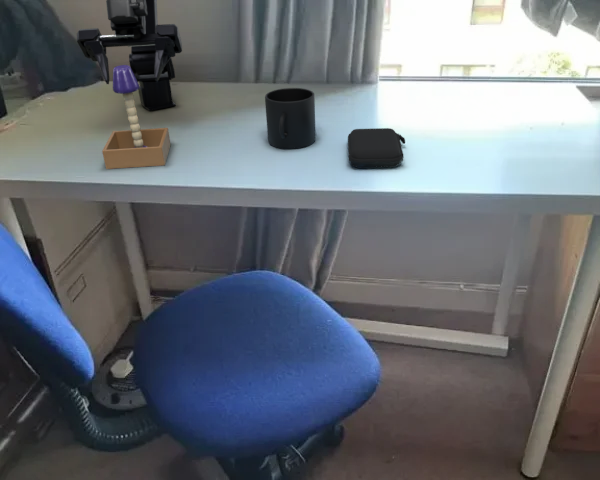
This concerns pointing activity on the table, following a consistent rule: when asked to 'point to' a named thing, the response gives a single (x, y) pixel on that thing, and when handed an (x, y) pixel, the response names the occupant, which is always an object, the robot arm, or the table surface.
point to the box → (137, 149)
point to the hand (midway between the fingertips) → (131, 81)
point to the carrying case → (375, 148)
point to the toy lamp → (128, 98)
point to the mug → (290, 117)
